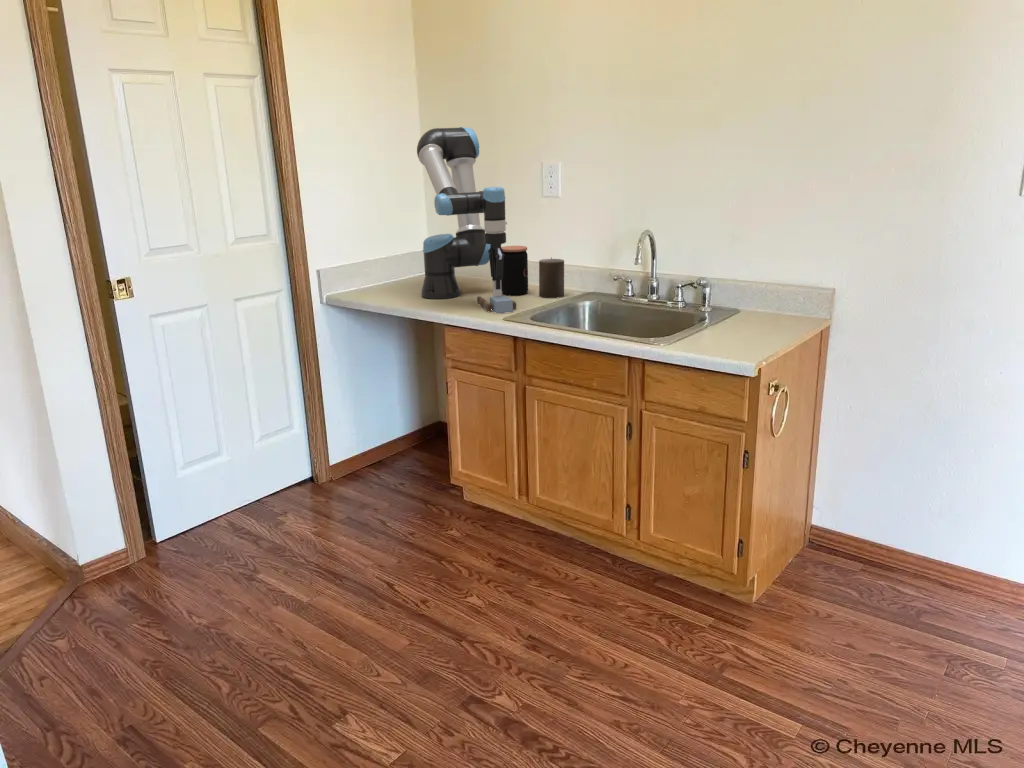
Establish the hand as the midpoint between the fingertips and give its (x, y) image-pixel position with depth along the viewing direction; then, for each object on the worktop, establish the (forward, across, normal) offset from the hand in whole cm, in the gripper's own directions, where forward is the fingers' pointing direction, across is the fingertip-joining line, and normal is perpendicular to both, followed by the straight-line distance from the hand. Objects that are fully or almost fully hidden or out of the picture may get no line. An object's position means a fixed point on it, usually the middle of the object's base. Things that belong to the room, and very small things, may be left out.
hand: (497, 297), depth 286 cm
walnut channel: (+4, +2, 0) cm, 4 cm away
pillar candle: (+4, +12, -25) cm, 28 cm away
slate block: (+4, -5, 0) cm, 6 cm away
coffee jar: (+4, +22, -13) cm, 26 cm away
